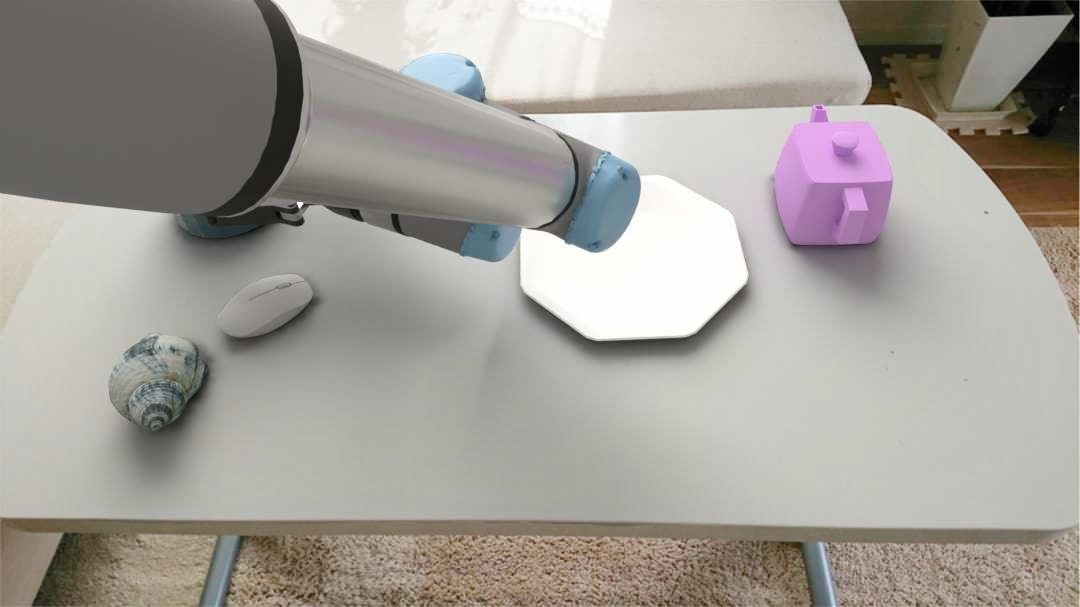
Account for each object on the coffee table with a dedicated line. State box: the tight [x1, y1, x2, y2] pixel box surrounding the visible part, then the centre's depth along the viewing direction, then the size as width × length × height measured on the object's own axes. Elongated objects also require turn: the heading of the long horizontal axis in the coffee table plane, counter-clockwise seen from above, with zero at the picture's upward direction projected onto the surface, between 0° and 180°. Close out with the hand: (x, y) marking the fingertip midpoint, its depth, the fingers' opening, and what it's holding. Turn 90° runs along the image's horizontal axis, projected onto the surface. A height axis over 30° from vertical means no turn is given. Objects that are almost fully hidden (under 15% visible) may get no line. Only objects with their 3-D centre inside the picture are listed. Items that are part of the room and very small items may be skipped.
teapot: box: [773, 104, 894, 246], centre depth 81 cm, size 18×10×10 cm, turn 179°
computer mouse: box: [216, 273, 314, 339], centre depth 78 cm, size 6×10×3 cm, turn 132°
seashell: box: [107, 332, 209, 432], centre depth 71 cm, size 6×8×12 cm
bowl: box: [173, 214, 262, 239], centre depth 88 cm, size 13×13×5 cm
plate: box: [519, 174, 750, 343], centre depth 81 cm, size 24×24×2 cm
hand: (212, 138), depth 81 cm, fingers open, 13 cm apart
